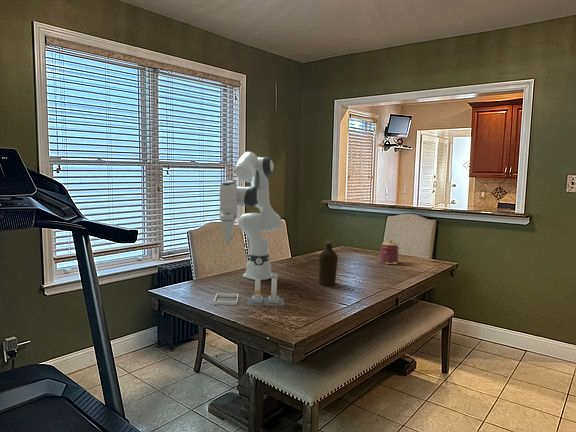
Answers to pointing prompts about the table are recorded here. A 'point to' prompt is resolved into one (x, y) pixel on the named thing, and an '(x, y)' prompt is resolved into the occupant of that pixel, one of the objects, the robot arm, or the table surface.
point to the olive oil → (327, 266)
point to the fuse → (274, 285)
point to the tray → (226, 301)
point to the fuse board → (264, 301)
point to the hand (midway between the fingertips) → (228, 241)
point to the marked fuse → (257, 284)
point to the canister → (389, 252)
